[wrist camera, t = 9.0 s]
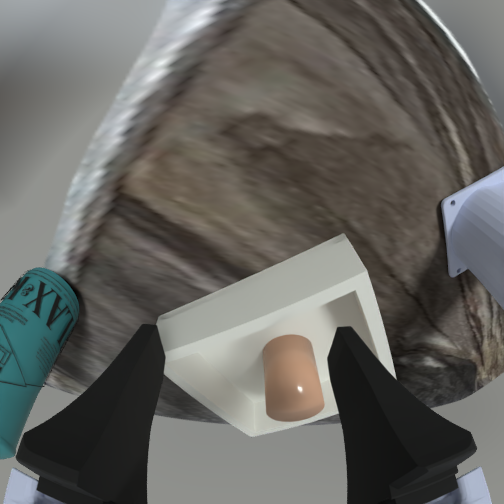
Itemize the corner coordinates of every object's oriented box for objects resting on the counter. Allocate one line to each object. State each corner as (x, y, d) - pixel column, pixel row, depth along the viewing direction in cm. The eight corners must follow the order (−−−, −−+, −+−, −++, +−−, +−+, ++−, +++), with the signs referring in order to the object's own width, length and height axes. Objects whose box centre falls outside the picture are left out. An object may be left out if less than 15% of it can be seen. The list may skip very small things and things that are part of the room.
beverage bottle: (97, 315, 23) (23, 521, 6) (45, 310, 23) (-35, 478, 6) (75, 254, 20) (-51, 484, 2) (22, 254, 20) (-96, 431, 2)
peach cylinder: (321, 338, 23) (335, 397, 18) (299, 368, 26) (308, 423, 20) (273, 330, 23) (279, 392, 18) (255, 361, 25) (257, 419, 20)
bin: (343, 232, 19) (366, 270, 15) (384, 354, 27) (398, 389, 23) (158, 316, 23) (145, 358, 19) (250, 402, 30) (251, 437, 26)
